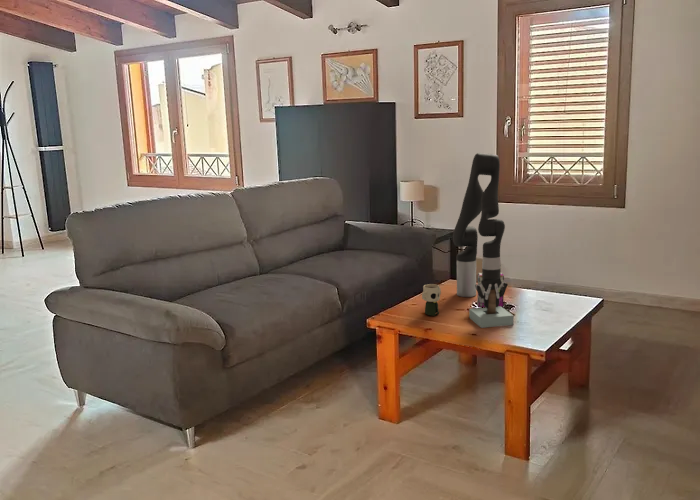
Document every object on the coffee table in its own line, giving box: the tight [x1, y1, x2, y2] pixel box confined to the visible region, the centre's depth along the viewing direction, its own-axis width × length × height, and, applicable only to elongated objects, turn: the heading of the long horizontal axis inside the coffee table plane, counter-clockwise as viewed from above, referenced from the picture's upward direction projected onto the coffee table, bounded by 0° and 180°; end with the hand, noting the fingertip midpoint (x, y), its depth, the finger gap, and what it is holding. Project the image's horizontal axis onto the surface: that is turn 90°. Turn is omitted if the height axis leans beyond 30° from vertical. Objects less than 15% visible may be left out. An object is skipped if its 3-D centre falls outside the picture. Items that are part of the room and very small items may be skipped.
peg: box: [487, 289, 496, 314], centre depth 273 cm, size 4×4×12 cm
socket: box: [468, 306, 515, 329], centre depth 274 cm, size 14×14×4 cm
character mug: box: [421, 283, 442, 316], centre depth 286 cm, size 11×7×13 cm, turn 127°
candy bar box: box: [476, 272, 505, 308], centre depth 290 cm, size 11×5×16 cm, turn 84°
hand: (491, 306), depth 273 cm, fingers closed on peg, 3 cm apart
